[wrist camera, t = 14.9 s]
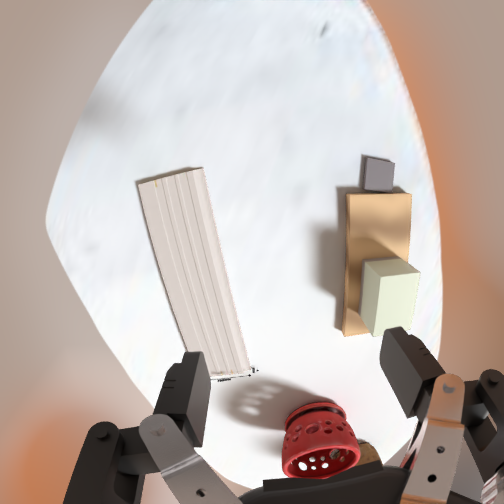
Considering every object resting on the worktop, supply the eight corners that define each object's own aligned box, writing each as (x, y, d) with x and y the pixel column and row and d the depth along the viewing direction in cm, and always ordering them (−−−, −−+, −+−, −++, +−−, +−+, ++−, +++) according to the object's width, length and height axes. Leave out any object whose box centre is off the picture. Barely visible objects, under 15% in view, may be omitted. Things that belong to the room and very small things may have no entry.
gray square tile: (364, 157, 32) (367, 157, 31) (390, 162, 32) (394, 163, 31) (361, 188, 34) (364, 189, 32) (387, 192, 34) (391, 193, 32)
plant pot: (352, 391, 44) (371, 441, 32) (337, 432, 47) (349, 476, 36) (281, 396, 43) (286, 451, 32) (275, 437, 47) (279, 485, 36)
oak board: (345, 193, 33) (349, 195, 32) (406, 192, 33) (411, 194, 32) (341, 331, 39) (344, 336, 38) (394, 322, 39) (398, 327, 38)
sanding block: (362, 259, 34) (380, 277, 29) (398, 256, 34) (420, 272, 28) (358, 313, 37) (372, 336, 31) (391, 308, 37) (410, 329, 31)
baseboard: (216, 165, 33) (141, 184, 34) (212, 165, 30) (133, 185, 31) (260, 365, 42) (199, 372, 43) (260, 376, 39) (197, 383, 40)
